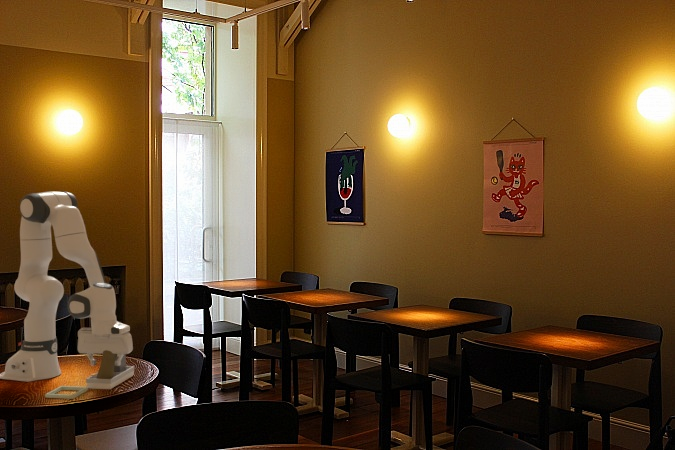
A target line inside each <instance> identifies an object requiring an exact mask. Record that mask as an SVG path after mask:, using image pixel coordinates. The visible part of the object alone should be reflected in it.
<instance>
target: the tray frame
mask: <svg viewBox="0 0 675 450" xmlns="http://www.w3.org/2000/svg"><path fill="white" fill-rule="evenodd" d="M61 391H75V393H73V394H63V393H61V394H60V393H58V392H61ZM87 391H89V388H88V387H87V386H72V385H71V386H70V385H61V386H58V387H56V388H55V389H53V390H51V391H48V392H47V393H45V394H44V395H45V398H47V399H49V398H50V399H68V400H69V399H70V400H73V399H75V398H77V397H79V396H80V395H82V394H83V393H84V394H85V393H86V392H87Z"/></svg>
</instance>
